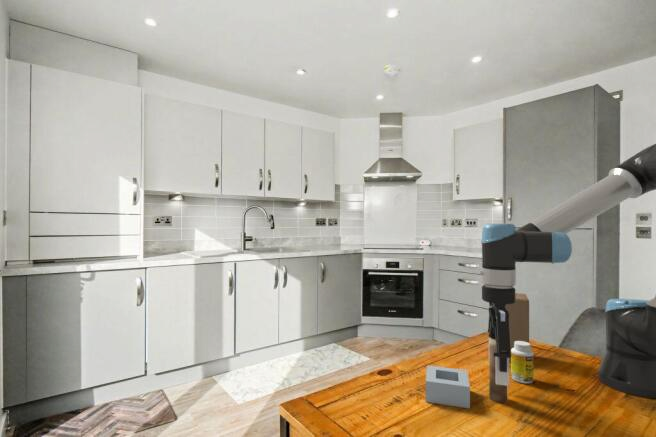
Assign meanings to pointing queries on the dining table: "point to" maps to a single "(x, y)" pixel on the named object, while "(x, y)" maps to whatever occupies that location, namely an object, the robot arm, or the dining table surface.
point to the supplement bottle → (522, 362)
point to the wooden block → (518, 319)
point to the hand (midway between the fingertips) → (498, 373)
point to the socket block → (447, 386)
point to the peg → (495, 391)
